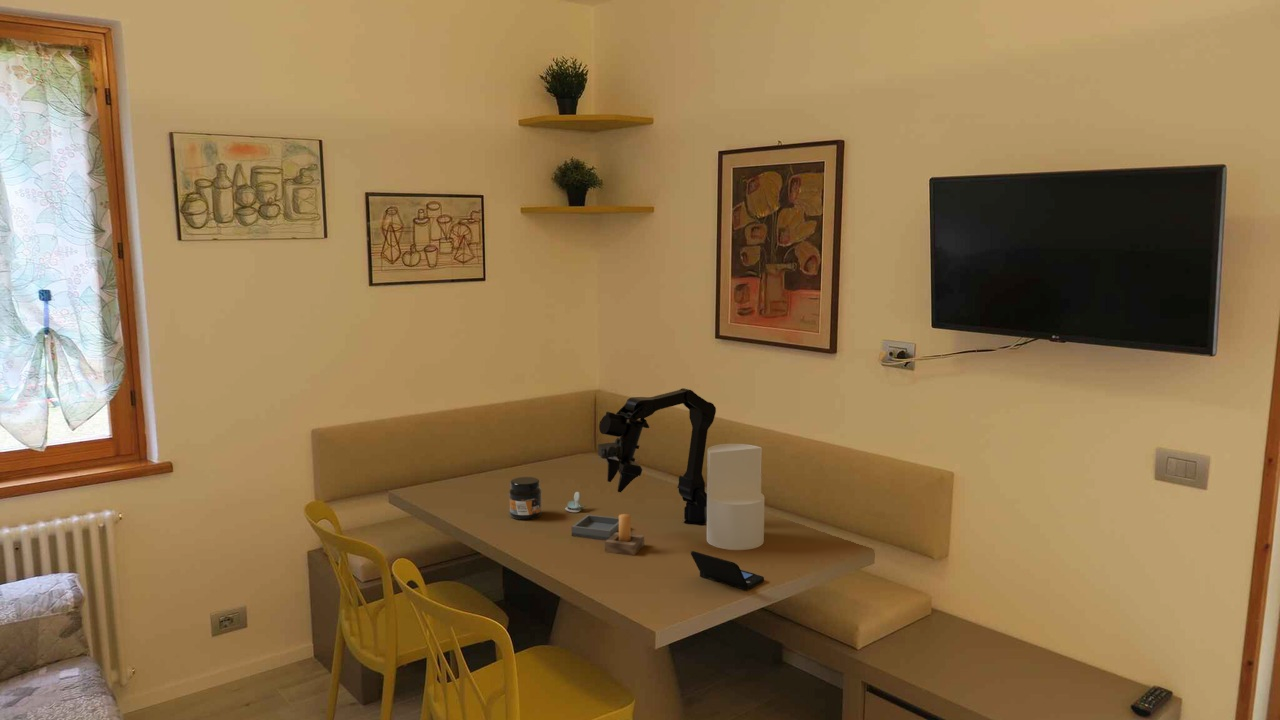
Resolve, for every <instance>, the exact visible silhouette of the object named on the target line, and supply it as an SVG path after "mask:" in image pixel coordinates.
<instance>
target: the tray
mask: <svg viewBox="0 0 1280 720" xmlns="http://www.w3.org/2000/svg"><path fill="white" fill-rule="evenodd" d="M616 532H619V517H615V516H614V517H612V516H603V515H595V514H587V515H585V516H584V517H582V518H581V519H580V520H579V521H577V522H576V523H574V524H573V525H572V526H571V536H572V537H576V536H577V537H578V538H586V539H593V540H602V541H606V540H608V539H609V538H610V537H611V536H612V535H613V534H615V533H616Z"/></svg>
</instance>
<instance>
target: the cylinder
mask: <svg viewBox="0 0 1280 720" xmlns="http://www.w3.org/2000/svg"><path fill="white" fill-rule="evenodd" d="M706 452H707V457H706V459H707V460H706V464H707V466H706V467H707V468H706V469H707V470H706V476H707V477H706V493H707V522H706V542H707V543H708V544H709V545H711V546H713V547H715V548H718V549H724V550H729V551H746V550H752V549H757V548H759V547H761V546H762V545H763V544H764V542H765V540H764V539H765V495H764V494H763V493H762V463H763V462H762V459H763V458H762V457H763V455H762V454H763V448H762V447H761V446H758V445H753V444H747V443H721V444H720V443H719V444H715V445H711V446H709V447H708V448H707V451H706Z"/></svg>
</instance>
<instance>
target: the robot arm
mask: <svg viewBox="0 0 1280 720" xmlns="http://www.w3.org/2000/svg"><path fill="white" fill-rule="evenodd" d="M682 404H683V406H684V407H685V408H687V410H688V411H689V414H688V416H689V421H690V423H691V427H692V429H691V430H692V431H691V436H690V437H691V438H690V443H689V444H690V445H689V450H688V458H687V467H686V471H685V473H684V474H683V475H679V477H678V485H677V489H678V493H679V495H680V496H681V498H682V501H684V502H685V506H684V510H683V511H684V515H683V517H684V522H683V523H684V524H689V525H699V526H700V525H701V526H704V525H705V524H707V491H706V482H705V479H704V476H703V467H704V461H705V460H704V459H705V451H706V445H707V437H708V431H709V429H710V427H711V426H712V424H713V423H714V420H715V417H716V414H717V408H716V406H715V404H714V403H713V402H711V401H707V400H705V399H704V398H703V397H701V396H700V395H698V394H697V393H696V392H694V390H692V389H688V388H683V387H682V388H680V389H677V390H673V391H670V392H666V393H661V394H658V395H655V396H632V397H629V398H627V400H626V402H625V404H624V405H623V406H622V407H621V408H620V409H619V410H618V411H617V412H616V413H615V412H611V411H606V413H605V415H603V417H602V418H601V420H600V421H599V424H598V425H599V426H598V428H599V432H600V434H601V435H606V436H612V437H617V438H615V440H614V442H607V443H599V444H598V445H597V454H598V456H600V458H601V459H604V460H606V462H607V482H609V483H611V482H612V481H613V480H614V478H615V477H616V475H617V473H618V474H619V479H618V480H619V481H618V486H617V492H618V493H622V492H623V491H624V489H626V487H627V486H628V485H629V484H630V483H631V482H633V480H635V479H636V478H639V476H640V477H641V476H642V475H641V474H642V472H643V468H642V467H641V465H640V464H639V463H637V462H635V461H636V457H634V455H635V454H636V450H639V448H640V445H639V444H638V443H639V440H640V437H641V434H642V431H643V429H644V428H645V429H649V428H650V425H649V423H648V421H647V418H648V417H650V416H652V415H654V413H655V412H657V411H659V410H664V409H667V408H671V407H674V406H679V405H682Z"/></svg>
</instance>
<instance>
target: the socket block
mask: <svg viewBox="0 0 1280 720" xmlns="http://www.w3.org/2000/svg"><path fill="white" fill-rule="evenodd" d="M644 546H645V535H642V534H635V533H633V534H632V533H631V542H623V541H619V532H616V533H615V534H613V535H612V536H611V537H610V538H609V539H608V540H604V552H605V551H606V552H607V553H612V552H613V553H612V554H621V555H629V556H635V555H636V554H637V553H638V552H639V550H641V549H642V548H643V547H644ZM606 552H605V553H606Z"/></svg>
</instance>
